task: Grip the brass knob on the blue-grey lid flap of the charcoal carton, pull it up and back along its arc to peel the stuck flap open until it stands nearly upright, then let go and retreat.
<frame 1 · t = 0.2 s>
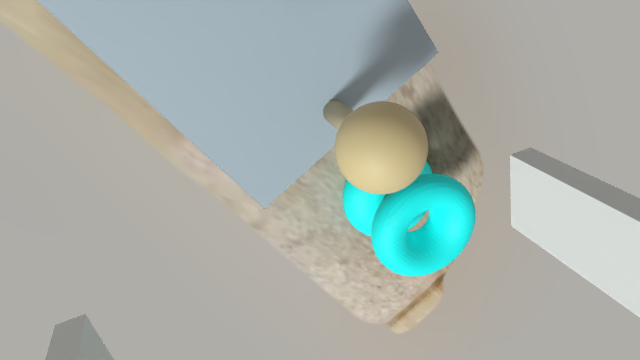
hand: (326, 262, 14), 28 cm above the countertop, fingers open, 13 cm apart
flap: (264, 11, 23), point 15 cm above the countertop, hinge at 0.0°
donuts: (382, 186, 48), on the countertop
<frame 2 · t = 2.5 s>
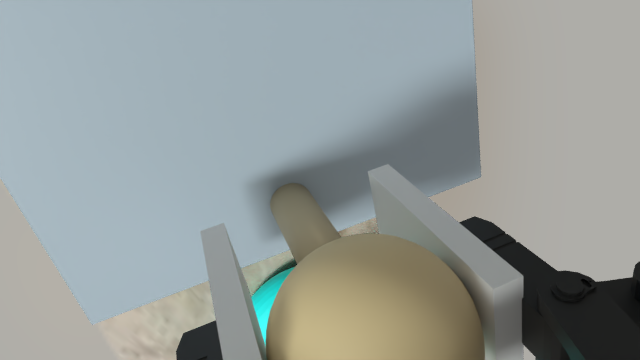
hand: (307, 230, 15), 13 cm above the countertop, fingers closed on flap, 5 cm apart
donuts: (301, 311, 34), on the countertop
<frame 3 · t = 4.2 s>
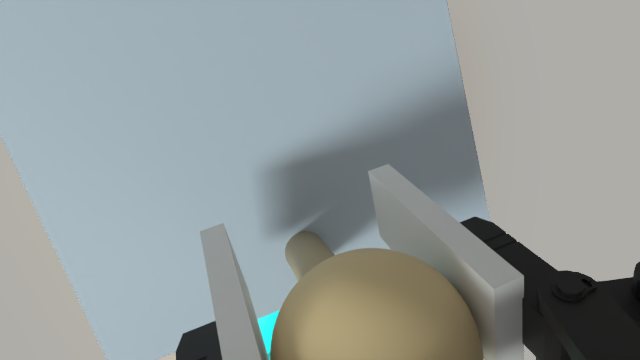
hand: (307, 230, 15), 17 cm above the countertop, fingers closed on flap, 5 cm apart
flap: (247, 1, 11), point 18 cm above the countertop, hinge at 13.6°, touching gripper
donuts: (293, 301, 39), on the countertop
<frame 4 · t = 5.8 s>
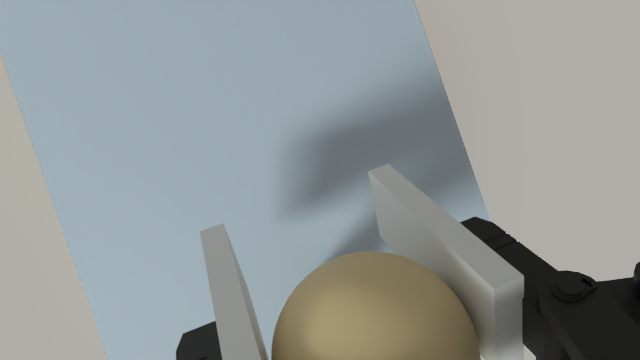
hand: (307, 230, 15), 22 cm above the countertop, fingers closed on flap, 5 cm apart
flap: (251, 54, 14), point 20 cm above the countertop, hinge at 28.5°, touching gripper
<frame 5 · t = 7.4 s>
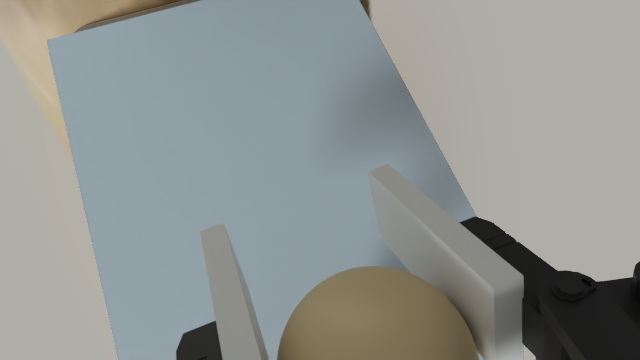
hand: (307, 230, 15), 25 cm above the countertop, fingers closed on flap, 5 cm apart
flap: (266, 130, 17), point 22 cm above the countertop, hinge at 48.4°, touching gripper
carton: (234, 131, 39), on the countertop
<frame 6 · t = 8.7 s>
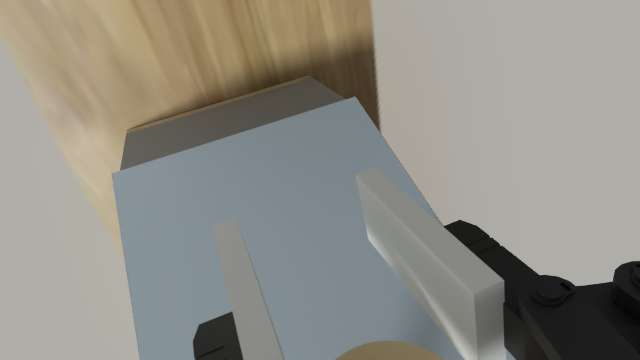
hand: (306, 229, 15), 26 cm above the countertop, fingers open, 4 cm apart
flap: (291, 232, 19), point 23 cm above the countertop, hinge at 64.5°
carton: (256, 209, 44), on the countertop
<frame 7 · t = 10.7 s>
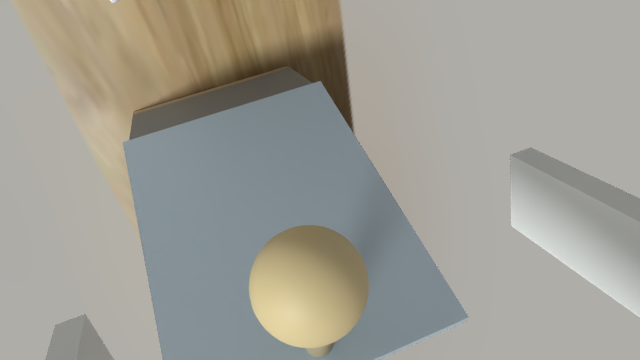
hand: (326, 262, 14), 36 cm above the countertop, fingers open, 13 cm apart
flap: (257, 175, 26), point 23 cm above the countertop, hinge at 64.5°
carton: (244, 181, 51), on the countertop
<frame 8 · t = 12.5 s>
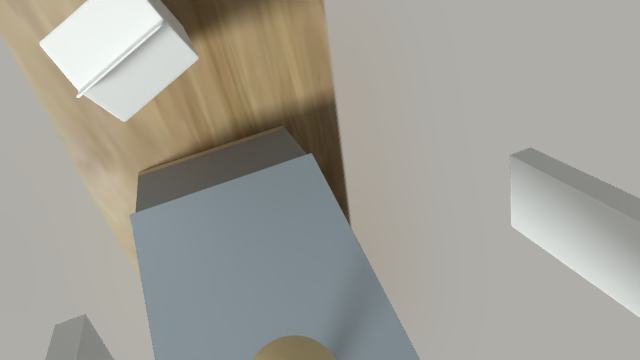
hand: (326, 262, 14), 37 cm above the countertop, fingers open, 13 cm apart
flap: (252, 265, 30), point 23 cm above the countertop, hinge at 64.5°
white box: (135, 20, 42), on the countertop
carton: (242, 230, 54), on the countertop
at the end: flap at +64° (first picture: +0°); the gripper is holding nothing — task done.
